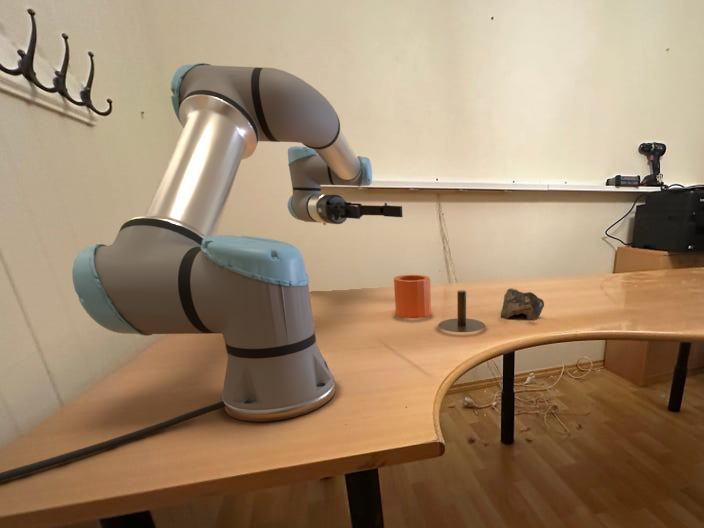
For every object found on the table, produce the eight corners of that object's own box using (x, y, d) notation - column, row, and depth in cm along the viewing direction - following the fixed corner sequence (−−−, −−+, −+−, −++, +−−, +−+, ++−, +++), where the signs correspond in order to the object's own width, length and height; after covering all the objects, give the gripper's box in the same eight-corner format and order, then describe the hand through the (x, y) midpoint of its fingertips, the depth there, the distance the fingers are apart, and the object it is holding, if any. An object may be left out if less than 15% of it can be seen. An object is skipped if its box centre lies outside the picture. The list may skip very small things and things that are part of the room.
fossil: (541, 311, 108) (546, 282, 101) (541, 335, 103) (546, 306, 95) (501, 308, 109) (503, 279, 101) (499, 332, 103) (501, 303, 96)
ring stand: (454, 339, 88) (454, 298, 84) (429, 326, 96) (428, 289, 93) (494, 331, 94) (495, 293, 90) (467, 319, 102) (468, 284, 99)
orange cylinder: (405, 323, 98) (403, 282, 94) (390, 315, 104) (388, 276, 100) (437, 318, 102) (436, 279, 99) (420, 310, 109) (419, 273, 105)
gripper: (366, 222, 121) (417, 226, 110) (288, 225, 103) (339, 230, 91) (364, 195, 119) (416, 196, 107) (283, 193, 100) (335, 194, 88)
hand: (381, 212), depth 99 cm, fingers open, 13 cm apart
